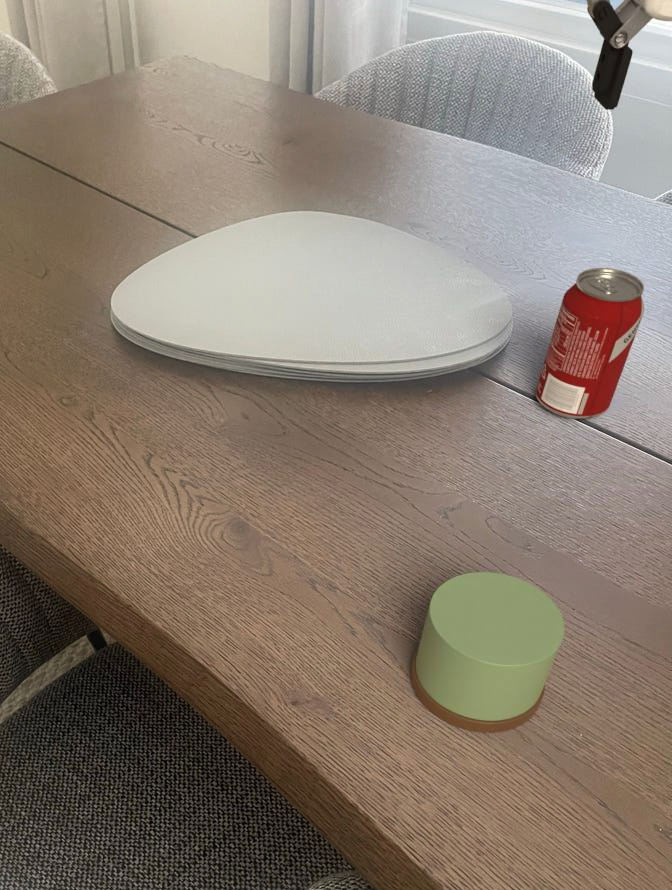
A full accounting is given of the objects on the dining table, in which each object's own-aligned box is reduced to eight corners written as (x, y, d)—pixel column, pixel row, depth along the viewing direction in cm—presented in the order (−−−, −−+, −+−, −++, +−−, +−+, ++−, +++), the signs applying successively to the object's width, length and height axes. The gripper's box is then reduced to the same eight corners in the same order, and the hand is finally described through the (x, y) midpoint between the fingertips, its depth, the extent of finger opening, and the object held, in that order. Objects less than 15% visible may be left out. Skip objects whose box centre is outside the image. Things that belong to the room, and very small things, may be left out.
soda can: (573, 433, 88) (615, 309, 79) (518, 398, 92) (552, 277, 83) (622, 409, 90) (669, 288, 82) (567, 377, 94) (605, 257, 86)
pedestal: (522, 633, 71) (545, 567, 66) (557, 731, 65) (586, 666, 60) (399, 636, 70) (414, 570, 66) (423, 734, 64) (442, 670, 60)
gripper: (649, -190, 57) (568, 122, 69) (938, -193, 57) (806, 118, 70) (608, -206, 62) (539, 87, 75) (873, -209, 62) (761, 84, 75)
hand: (668, 102), depth 72 cm, fingers open, 9 cm apart
